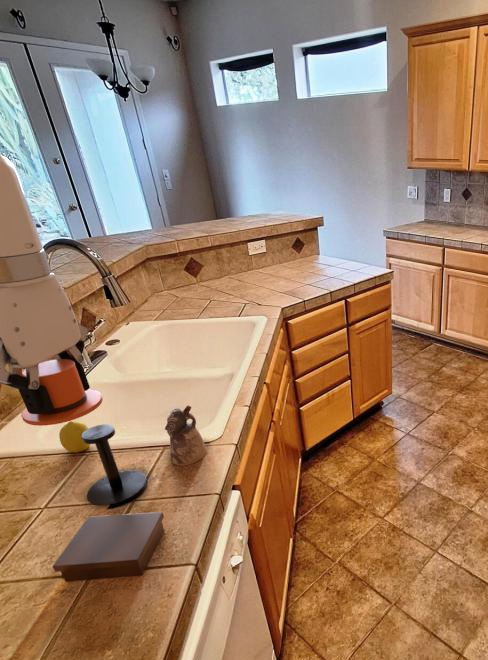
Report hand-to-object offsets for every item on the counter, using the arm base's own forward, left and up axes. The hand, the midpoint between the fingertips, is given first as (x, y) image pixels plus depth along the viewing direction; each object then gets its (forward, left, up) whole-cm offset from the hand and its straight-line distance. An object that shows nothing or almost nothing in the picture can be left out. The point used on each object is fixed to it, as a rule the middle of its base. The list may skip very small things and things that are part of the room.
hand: (60, 399), depth 59 cm
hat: (0, 0, -1) cm, 1 cm away
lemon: (-21, +29, -29) cm, 46 cm away
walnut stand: (0, -1, -29) cm, 29 cm away
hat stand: (-7, +15, -29) cm, 33 cm away
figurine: (+3, +26, -29) cm, 39 cm away
